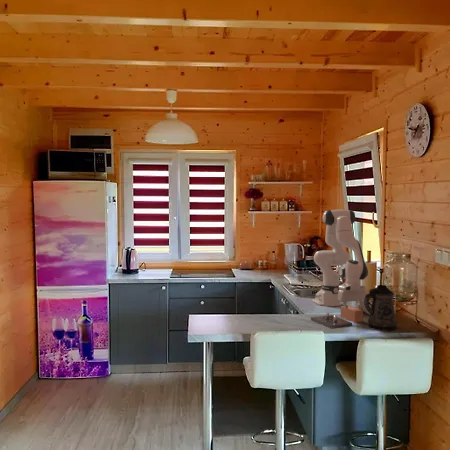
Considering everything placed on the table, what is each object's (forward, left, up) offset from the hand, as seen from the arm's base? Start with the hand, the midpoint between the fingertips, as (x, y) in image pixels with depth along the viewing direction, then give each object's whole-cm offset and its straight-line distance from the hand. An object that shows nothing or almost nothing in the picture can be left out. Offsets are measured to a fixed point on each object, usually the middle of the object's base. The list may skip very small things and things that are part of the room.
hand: (352, 308), depth 294 cm
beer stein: (+21, +4, -8) cm, 23 cm away
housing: (-1, 0, -7) cm, 7 cm away
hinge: (-9, +21, -8) cm, 24 cm away
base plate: (+1, -17, -7) cm, 18 cm away
